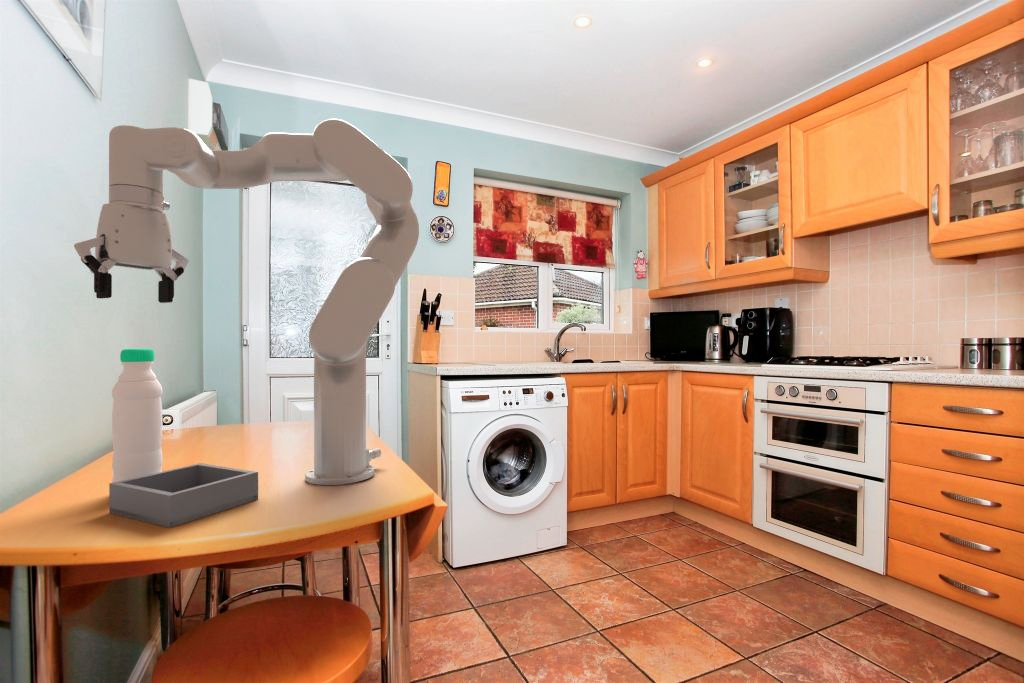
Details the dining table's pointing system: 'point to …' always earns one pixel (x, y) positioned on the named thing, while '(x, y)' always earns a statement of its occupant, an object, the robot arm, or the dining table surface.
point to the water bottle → (136, 417)
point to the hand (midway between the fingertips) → (136, 300)
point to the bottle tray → (182, 494)
